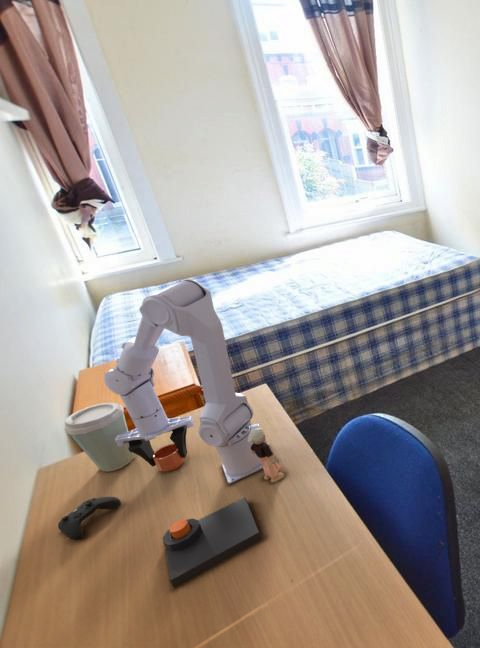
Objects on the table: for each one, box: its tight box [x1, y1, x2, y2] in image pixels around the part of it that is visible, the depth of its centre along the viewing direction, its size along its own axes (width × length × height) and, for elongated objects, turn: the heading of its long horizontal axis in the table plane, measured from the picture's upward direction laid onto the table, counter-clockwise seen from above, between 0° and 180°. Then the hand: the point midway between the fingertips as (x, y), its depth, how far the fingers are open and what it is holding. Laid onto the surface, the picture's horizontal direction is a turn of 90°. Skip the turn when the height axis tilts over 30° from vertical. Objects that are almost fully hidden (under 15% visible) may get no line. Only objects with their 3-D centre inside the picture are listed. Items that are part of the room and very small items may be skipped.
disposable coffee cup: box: [63, 401, 134, 473], centre depth 109 cm, size 11×11×15 cm
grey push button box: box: [162, 496, 263, 589], centre depth 87 cm, size 14×12×4 cm
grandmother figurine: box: [248, 427, 285, 483], centre depth 100 cm, size 8×4×13 cm, turn 71°
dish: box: [152, 443, 186, 473], centre depth 109 cm, size 5×5×4 cm
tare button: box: [169, 519, 190, 539], centre depth 86 cm, size 3×3×2 cm
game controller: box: [57, 496, 122, 541], centre depth 95 cm, size 10×5×6 cm
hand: (169, 459), depth 109 cm, fingers closed on dish, 5 cm apart
